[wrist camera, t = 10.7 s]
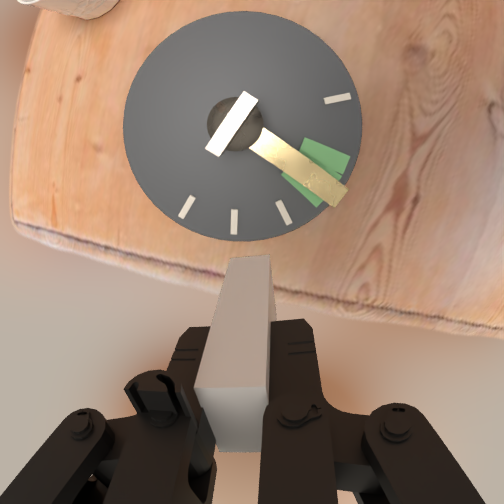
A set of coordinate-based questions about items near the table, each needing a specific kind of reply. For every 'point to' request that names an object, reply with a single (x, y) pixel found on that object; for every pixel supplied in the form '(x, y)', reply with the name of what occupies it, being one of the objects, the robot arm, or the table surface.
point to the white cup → (74, 7)
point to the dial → (273, 112)
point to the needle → (266, 145)
